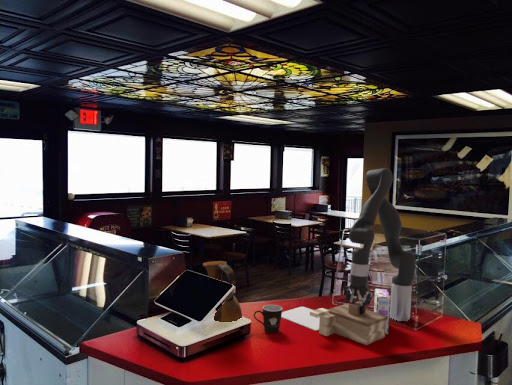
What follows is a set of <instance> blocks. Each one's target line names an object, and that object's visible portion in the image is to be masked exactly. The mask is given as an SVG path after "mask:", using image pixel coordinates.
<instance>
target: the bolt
mask: <svg viewBox="0 0 512 385" xmlns="http://www.w3.org/2000/svg"><path fill="white" fill-rule="evenodd" d="M312 310H313V311H310V315H311V316H313V317H316V318H318V317H321V316H324V315H328V314H329V310H328V309H327V308H324V307H321V308H320V307H319V308H317V309H312Z"/></svg>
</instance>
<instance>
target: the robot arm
mask: <svg viewBox="0 0 512 385" xmlns="http://www.w3.org/2000/svg"><path fill="white" fill-rule="evenodd" d="M393 179H394V177H393V172H392V171H391V169H390V168H387V167H384V168H383V167H382V168H377V169H376V168H375V169H370V170H367V172H366V173H365V181H366V185H367V188H368V191H369V192H370V197H369V198H368V199H367V200H366V201H365V203H363V205H362V208H361V210H360V212H359V216H358V218H357V220H356V221H355V222H354V224H353V225H351V228H350V230H349V233H348V238H349V241H350V242H351V243H352V244H359V245H363V247H362V248H354V249H353V250H352V252H351V265H350V276H349V283H350V284H349V285H346V286H344V287H343V289H344V294H345V299H346V300H347V301H348V302H349V304H351V303H354V302H356V298H358V301H359V302H360V305H361V306H360V314H363V313H364V312H365V306H366V307H367V306H369V305H371V301H372V299H373V297H374V292H370V291H369V289H368V285H369V270H370V269H369V258H370V252H371V248H372V245H373V243H374V240H375V232H374V230H373V229H372V228H370V227H373V226H374V225H375V222H376V218H377V217H378V219H379V223H380V226H381V228H382V229H381V230H382V232H383V235H384V241H385V244H386V248H387V253H388V258H389V262H390V264H391V265H392V266H393V267H394V268H396V269H397V270H398V273H397V275H394V276H392V278H391V286H390V287H391V290H390V312H389V319H391V318H392V319H391V320H393V319H394V320H393V321H396V320H397V321H396V322H401V321H406V322H409V321H410V318H411V307H412V288H413V287H412V286H413V281H414V279H415V273H416V272H415V271H416V266H417V264H416V262H417V260H416V256H415V255H414V254H413V253H412V252H410V251H407V250H404V249H403V247H402V243H401V240H400V237H401V231H402V220H401V217H400V214H399V212H398V210H397V208H396V207H395V206H394V205H393V204H392V203H391V202H390V201H389V200H388V199H387V198H386V196H387V194H388V193H389V190H390V189H391V187H392V184H393ZM408 320H409V321H408Z"/></svg>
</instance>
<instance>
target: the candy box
mask: <svg viewBox="0 0 512 385" xmlns="http://www.w3.org/2000/svg"><path fill="white" fill-rule="evenodd" d="M390 303H391V295H390V293H389V291H388V289H386V288H385V289H384V288H375V289H374V302H373V312H376V313H379V314H382V315H385V316H388V319H386V327H385V335H388V334H389V325H390Z"/></svg>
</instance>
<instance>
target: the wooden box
mask: <svg viewBox="0 0 512 385" xmlns="http://www.w3.org/2000/svg"><path fill="white" fill-rule="evenodd" d="M385 327H386V320H384V321H382V322H379V323H377V324H374V325H372V326H369V327H367V326H364V325H362V324H359V323H356V322H353V321H350V320H347V319H344V318H341V317H339V316H336V315H333V314H330V313H329V314H328V315H324V316H321V317H320V322H319V330H318V334H320V335H322V336H324V337H328V336H330V335H333V334H336V335H338V336H341V337H343V338H347V339H349V340H352V341H355V342H357V343H359V344H363V345H365V346H368V345H370V344H372V343H375V342H377V341H380V340H382V339H384V338H385V337H386V334H385Z"/></svg>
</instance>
